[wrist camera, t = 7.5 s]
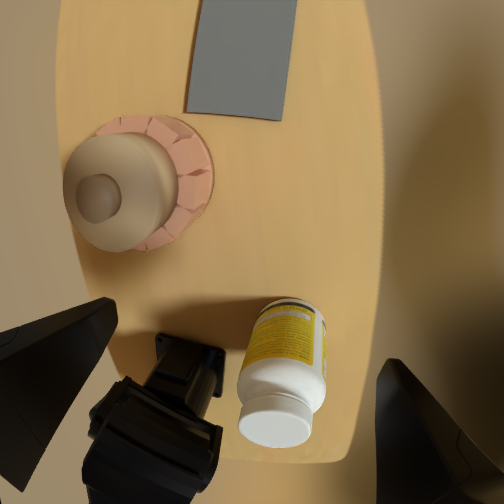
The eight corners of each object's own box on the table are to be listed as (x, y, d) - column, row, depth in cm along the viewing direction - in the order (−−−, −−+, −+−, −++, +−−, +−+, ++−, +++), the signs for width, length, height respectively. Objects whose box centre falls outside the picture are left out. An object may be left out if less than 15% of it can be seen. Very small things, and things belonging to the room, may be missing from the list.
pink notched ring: (209, 240, 21) (191, 261, 18) (111, 222, 22) (84, 238, 19) (220, 118, 18) (202, 117, 15) (112, 115, 19) (82, 117, 16)
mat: (281, 120, 17) (280, 120, 17) (188, 112, 18) (186, 112, 17) (297, -5, 13) (297, -8, 13) (206, -8, 14) (204, -10, 14)
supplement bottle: (241, 317, 23) (204, 416, 14) (299, 283, 21) (286, 388, 12) (283, 360, 24) (265, 460, 16) (338, 333, 22) (343, 439, 13)
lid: (176, 243, 18) (146, 271, 14) (93, 226, 18) (57, 248, 15) (182, 133, 15) (147, 137, 12) (92, 131, 16) (49, 138, 12)
